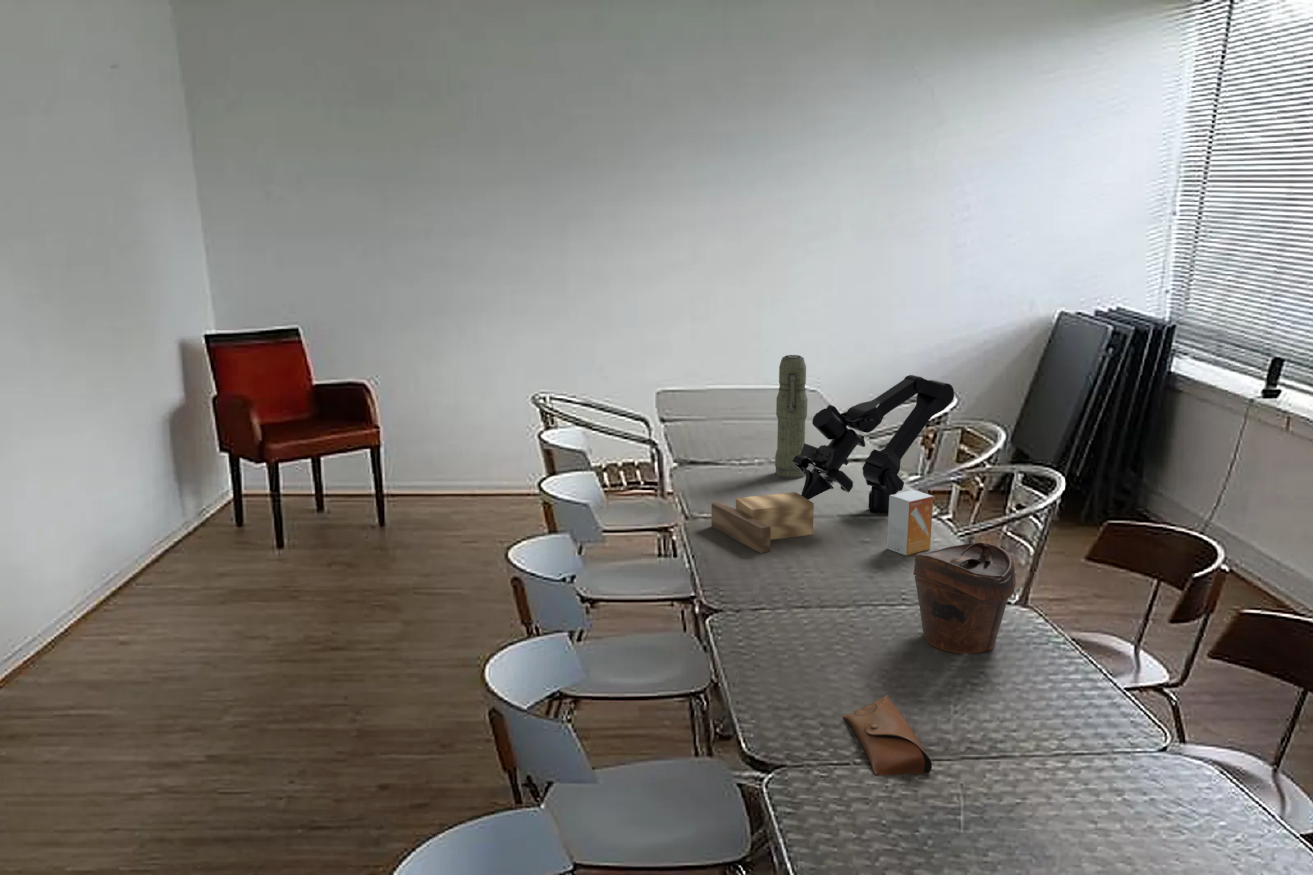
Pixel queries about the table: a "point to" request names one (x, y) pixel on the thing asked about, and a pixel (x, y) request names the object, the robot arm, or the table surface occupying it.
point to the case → (963, 595)
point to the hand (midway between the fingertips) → (802, 500)
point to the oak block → (780, 513)
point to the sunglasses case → (888, 739)
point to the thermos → (790, 415)
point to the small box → (909, 522)
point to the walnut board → (741, 527)
